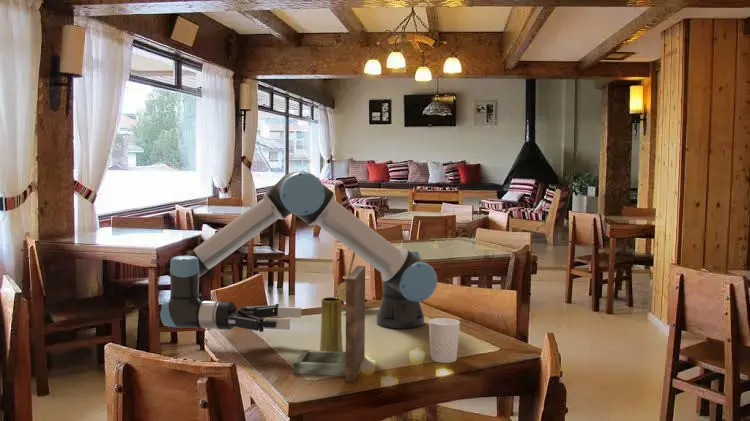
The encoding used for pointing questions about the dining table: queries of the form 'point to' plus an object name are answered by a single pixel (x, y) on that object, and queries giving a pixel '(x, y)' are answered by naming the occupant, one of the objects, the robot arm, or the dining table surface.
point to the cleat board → (355, 337)
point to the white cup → (444, 339)
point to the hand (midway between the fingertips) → (295, 318)
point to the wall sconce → (342, 287)
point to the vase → (331, 325)
